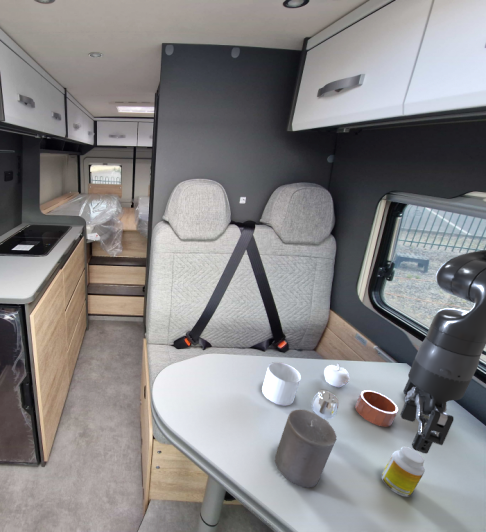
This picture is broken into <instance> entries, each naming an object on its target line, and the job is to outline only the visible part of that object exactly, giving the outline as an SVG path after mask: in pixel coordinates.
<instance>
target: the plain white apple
mask: <svg viewBox="0 0 486 532" xmlns="http://www.w3.org/2000/svg"><path fill="white" fill-rule="evenodd" d="M323 376H324V379H325V381H326V383H328V384H329V385H331V386H332V387H335V388H342V387H344V386H345V385H346V384H347V385H348V384H349V382H350V377H351V376H350V373H349V371H348V370H347V369H346V368H344V367H342V366H340V363H338V362H337V364H329V365H327V366H326V367H324V370H323Z"/></svg>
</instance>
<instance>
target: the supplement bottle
mask: <svg viewBox="0 0 486 532" xmlns="http://www.w3.org/2000/svg"><path fill="white" fill-rule="evenodd" d="M424 463H425V458H424V457H423V455H422V454H421V452H419V451H416V450H414V449H413V447H409V446H402V447H401V448H400V450H395V451H393V452H392V454H391V456H390V457H389V460H388V461H387V463H386V466H385V467H384V470H383V471H382V474H381V479H382V482H383V483H384V484H385V486H386V487H388V489H390V491H392V492H394V493H395V494H397V495H398V496H402V497H411V496H412V494H413V493H414V491H415V489H416V487H417V486H418V484H419V482H420V481H421V479H422V478H423V476H424V474H425V471H426V469H425V466H424Z"/></svg>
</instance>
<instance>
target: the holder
mask: <svg viewBox="0 0 486 532" xmlns="http://www.w3.org/2000/svg"><path fill="white" fill-rule="evenodd" d="M354 407H355V411H356V412H357V413H358V414H359V416H360V417H361V418H362V419H364V420H366V421H367V422H369V423H371V424H373V425H376V426H379V427H384V428H385V427H386V428H387V427H388V428H389V427H390V426H392V424H393V423H394V420H395V418H396V416H397V415H398V412H399V408H398V404H396V403H395V402H394V401H393V400H392V399H391V398H390V397H387V396H386V395H384V394H383V393H380V392H377V391H374V390H369V389H365V390H361V392H360V394H359V396H358V399H357V400H356V403H355V405H354Z"/></svg>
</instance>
